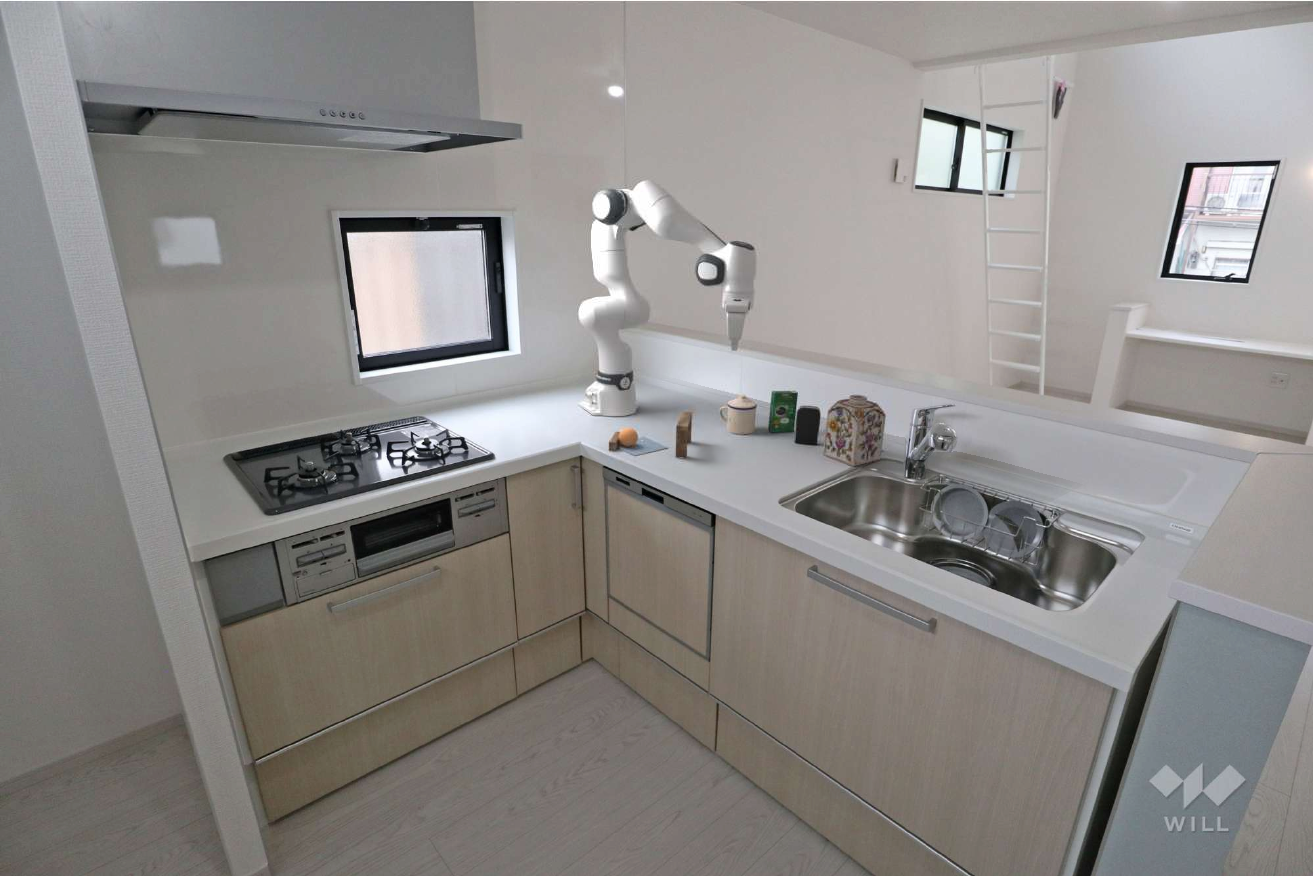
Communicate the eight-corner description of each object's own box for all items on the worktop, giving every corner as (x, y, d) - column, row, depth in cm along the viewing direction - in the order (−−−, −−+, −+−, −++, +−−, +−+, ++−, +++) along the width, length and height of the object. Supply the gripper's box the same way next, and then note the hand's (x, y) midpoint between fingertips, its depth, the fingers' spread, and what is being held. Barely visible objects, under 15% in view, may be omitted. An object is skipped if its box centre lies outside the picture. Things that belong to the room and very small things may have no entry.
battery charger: (818, 441, 204) (821, 405, 201) (817, 445, 201) (821, 409, 197) (794, 439, 206) (797, 403, 202) (793, 443, 203) (797, 407, 199)
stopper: (608, 450, 194) (608, 442, 193) (615, 439, 204) (615, 431, 203) (615, 450, 194) (615, 442, 193) (622, 439, 203) (622, 431, 203)
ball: (615, 427, 197) (633, 422, 195) (621, 435, 201) (639, 430, 200) (616, 443, 194) (635, 438, 193) (623, 452, 199) (641, 447, 197)
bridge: (675, 457, 190) (676, 425, 187) (681, 440, 203) (682, 411, 200) (686, 458, 189) (687, 426, 186) (691, 441, 203) (692, 411, 200)
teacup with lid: (758, 429, 216) (761, 393, 212) (749, 437, 208) (752, 400, 204) (723, 423, 221) (725, 389, 217) (713, 431, 213) (714, 395, 209)
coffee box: (791, 429, 216) (794, 389, 212) (795, 432, 213) (798, 391, 209) (767, 430, 214) (770, 390, 210) (770, 433, 212) (773, 392, 207)
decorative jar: (853, 467, 184) (860, 404, 179) (821, 455, 193) (827, 394, 188) (882, 459, 191) (890, 398, 185) (850, 448, 200) (856, 389, 194)
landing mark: (611, 444, 199) (611, 444, 199) (644, 437, 206) (644, 436, 206) (634, 456, 190) (634, 455, 190) (668, 448, 197) (668, 447, 197)
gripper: (728, 296, 201) (725, 341, 206) (724, 306, 182) (721, 356, 187) (749, 297, 200) (746, 343, 205) (748, 307, 181) (744, 357, 186)
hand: (734, 349), depth 196 cm, fingers closed
